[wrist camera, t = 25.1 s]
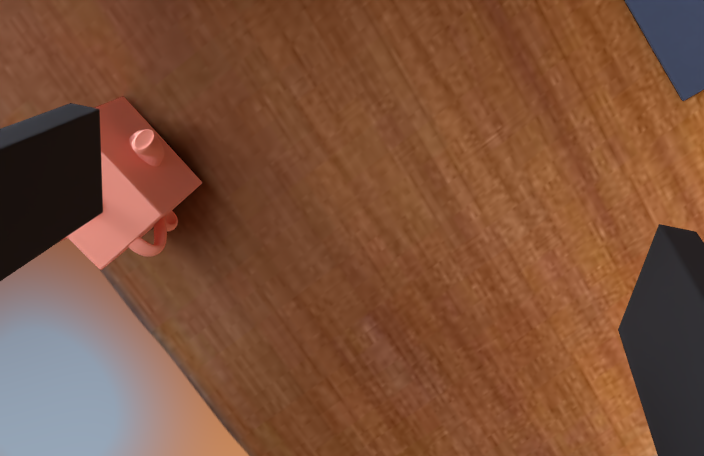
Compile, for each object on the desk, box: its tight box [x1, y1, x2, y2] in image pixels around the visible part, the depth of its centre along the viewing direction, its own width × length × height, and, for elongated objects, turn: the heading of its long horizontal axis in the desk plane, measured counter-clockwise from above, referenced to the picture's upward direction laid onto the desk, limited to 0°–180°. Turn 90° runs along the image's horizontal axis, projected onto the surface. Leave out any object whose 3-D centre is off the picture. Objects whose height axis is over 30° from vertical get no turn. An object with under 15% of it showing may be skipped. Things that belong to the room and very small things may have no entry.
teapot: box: [35, 96, 202, 270], centre depth 45 cm, size 12×15×8 cm
